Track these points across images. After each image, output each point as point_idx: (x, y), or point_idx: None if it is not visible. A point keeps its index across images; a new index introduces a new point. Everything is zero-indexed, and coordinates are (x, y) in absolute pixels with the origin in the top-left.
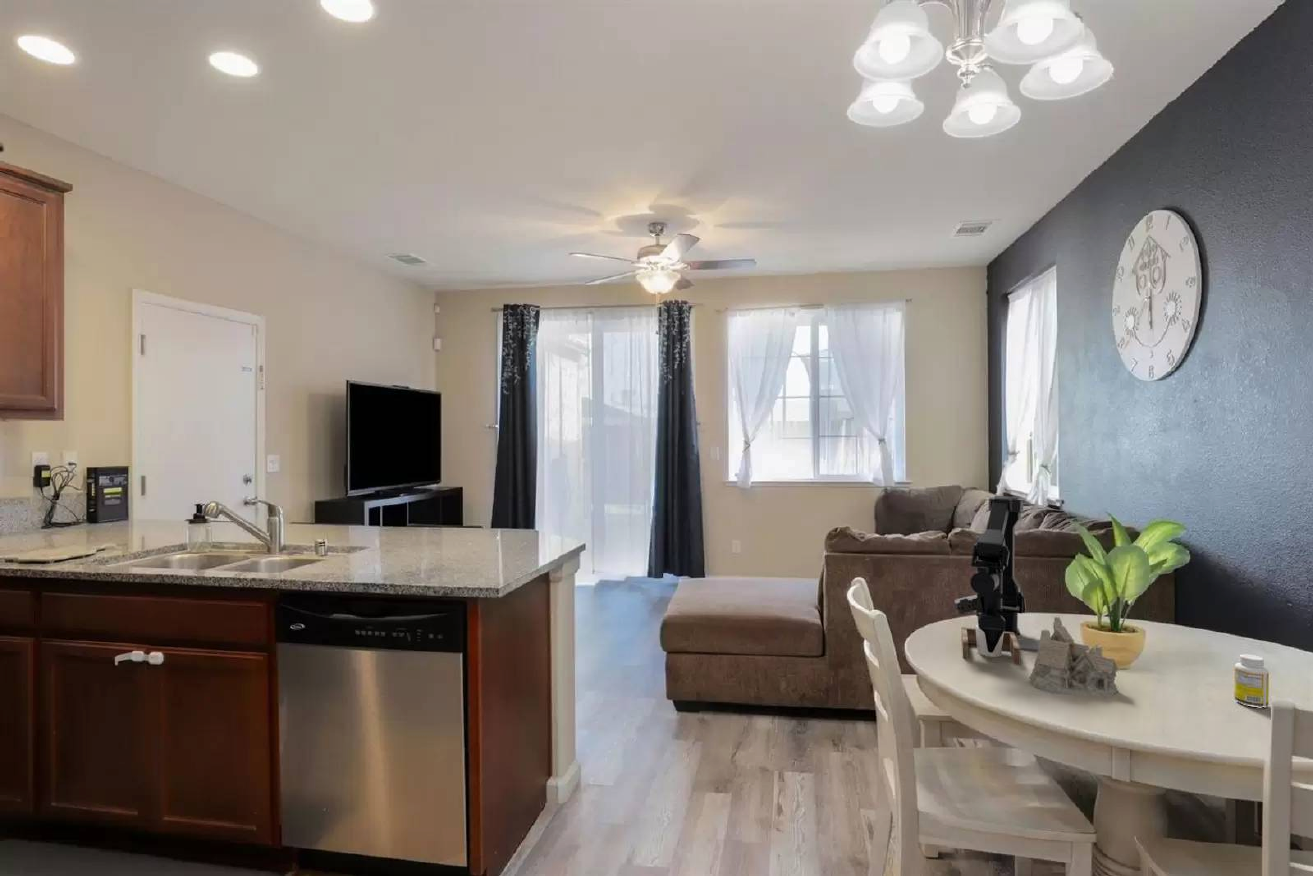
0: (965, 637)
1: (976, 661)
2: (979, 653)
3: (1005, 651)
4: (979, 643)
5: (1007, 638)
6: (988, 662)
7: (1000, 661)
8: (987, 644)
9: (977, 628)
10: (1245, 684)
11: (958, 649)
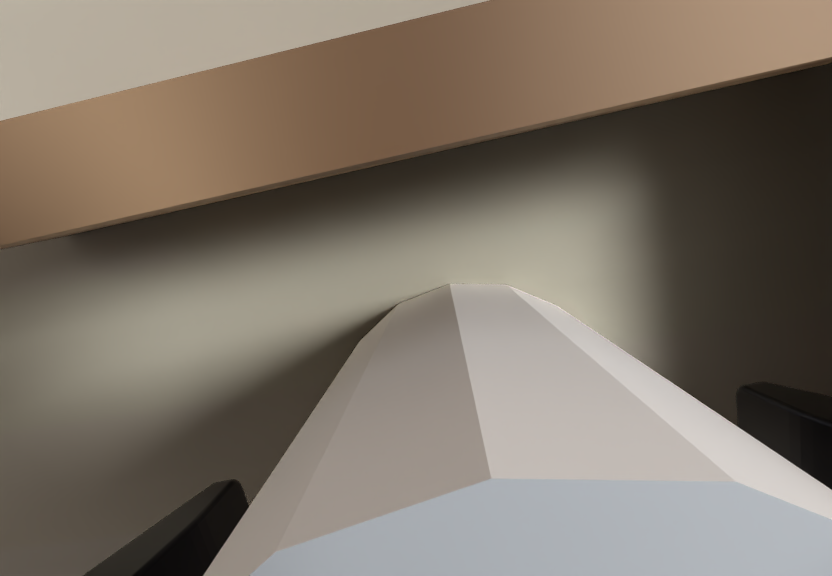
0: (202, 146)
1: (29, 343)
2: (382, 320)
3: None
4: (335, 382)
5: None
6: (98, 455)
7: None
8: (102, 571)
9: (246, 564)
10: None
11: None
